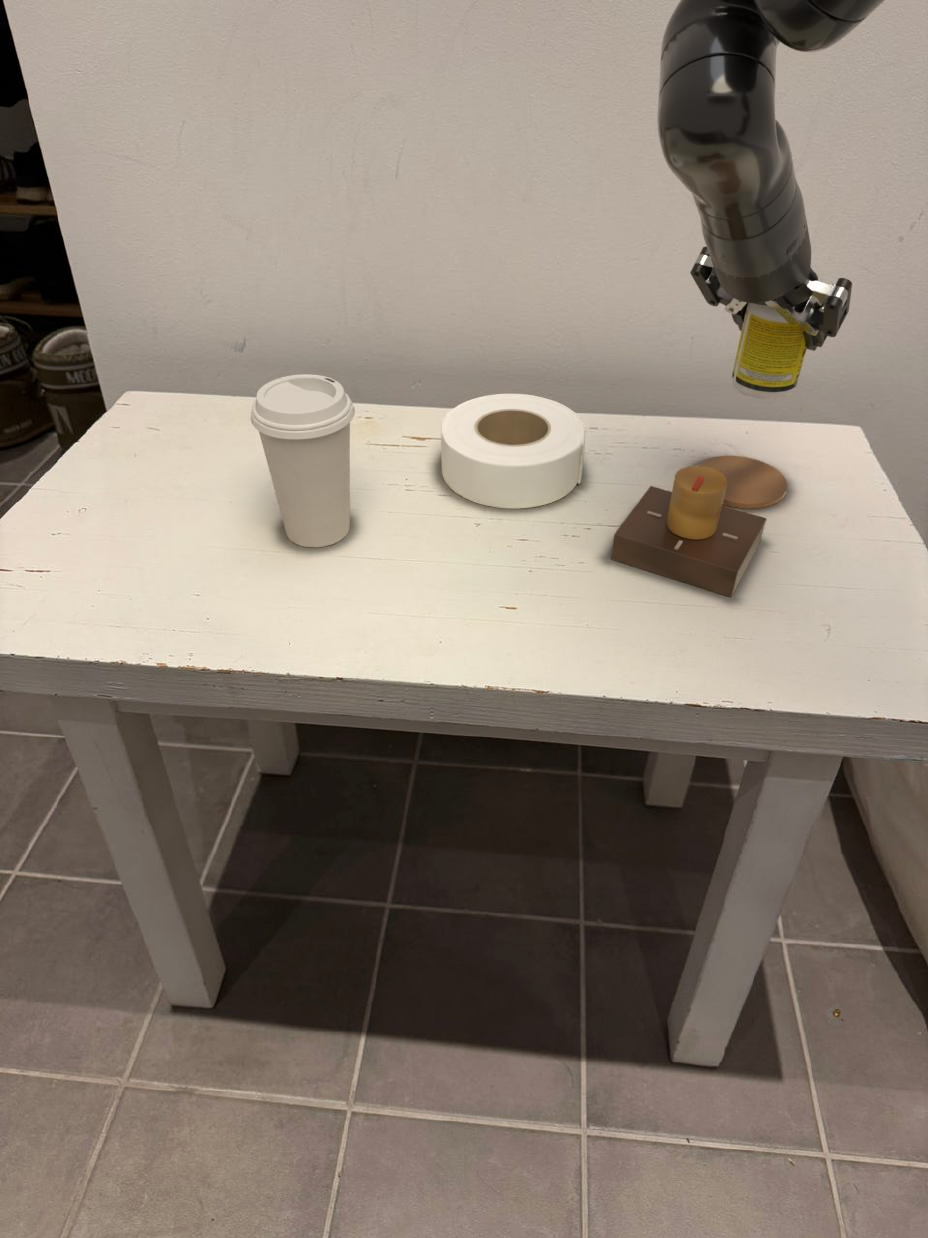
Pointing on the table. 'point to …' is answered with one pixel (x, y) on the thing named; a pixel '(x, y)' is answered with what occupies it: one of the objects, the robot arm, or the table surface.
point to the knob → (696, 502)
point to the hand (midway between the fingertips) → (781, 331)
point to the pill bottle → (768, 354)
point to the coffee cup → (308, 454)
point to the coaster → (748, 481)
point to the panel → (688, 545)
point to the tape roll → (512, 450)
